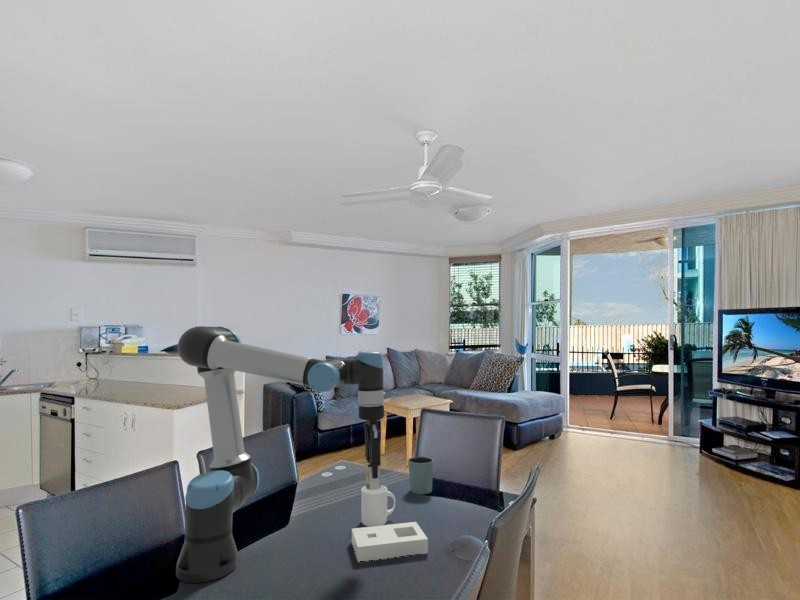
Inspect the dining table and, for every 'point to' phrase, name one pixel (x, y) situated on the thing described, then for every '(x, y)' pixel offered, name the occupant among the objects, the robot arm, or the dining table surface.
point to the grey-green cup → (420, 474)
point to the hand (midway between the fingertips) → (373, 486)
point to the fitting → (369, 477)
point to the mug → (375, 506)
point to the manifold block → (388, 541)
